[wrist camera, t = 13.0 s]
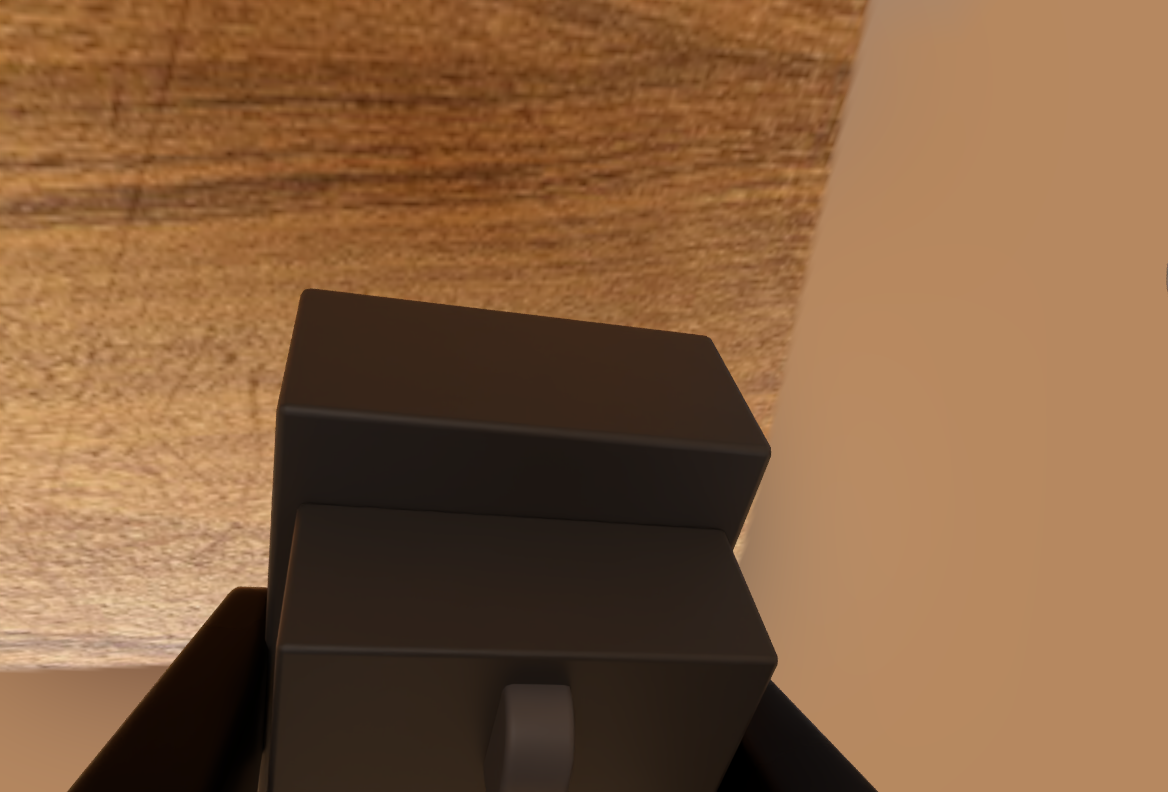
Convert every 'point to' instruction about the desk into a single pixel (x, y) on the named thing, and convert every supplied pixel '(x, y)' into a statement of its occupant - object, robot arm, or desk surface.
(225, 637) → the robot arm
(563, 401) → the stepped box with knob
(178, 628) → the desk surface
